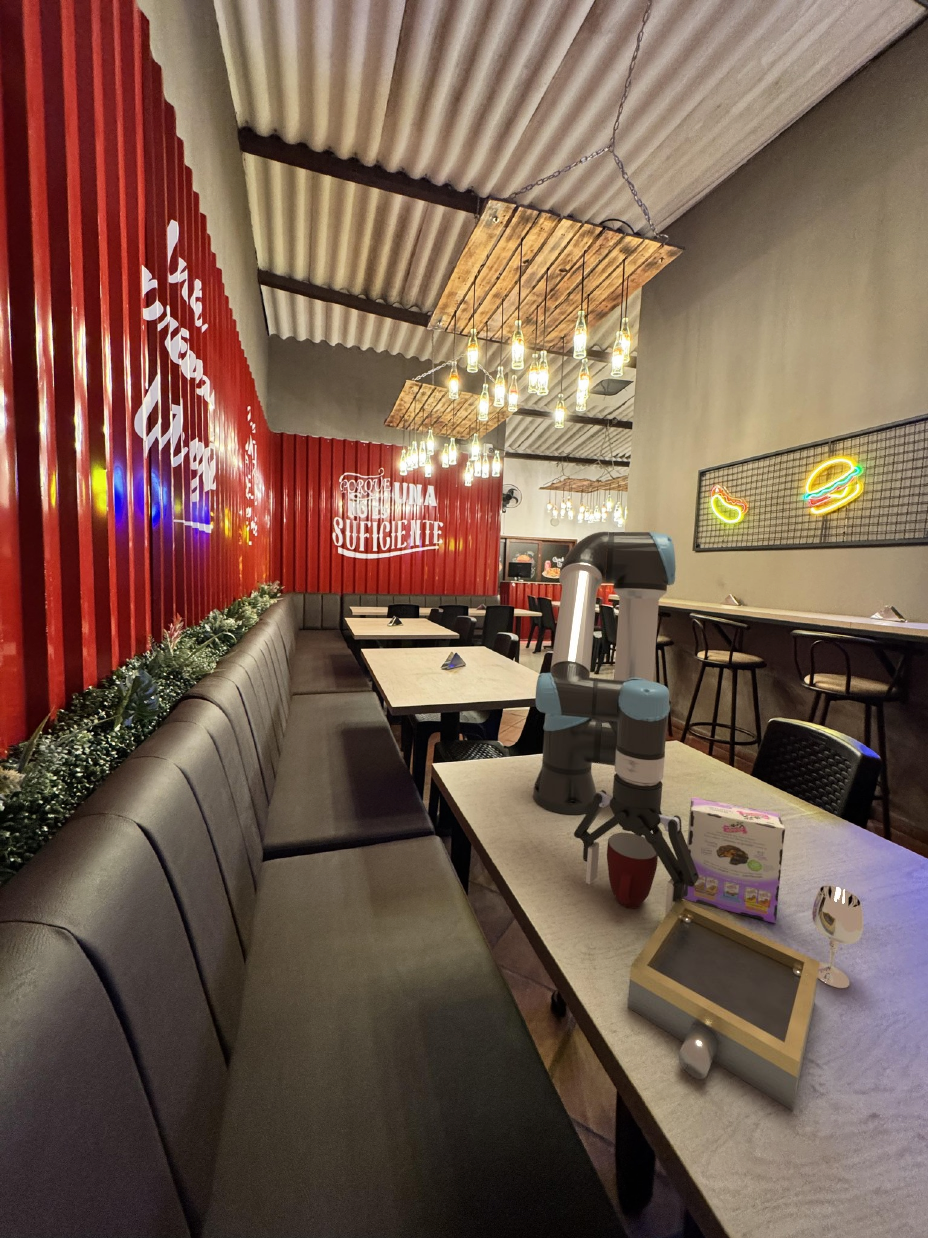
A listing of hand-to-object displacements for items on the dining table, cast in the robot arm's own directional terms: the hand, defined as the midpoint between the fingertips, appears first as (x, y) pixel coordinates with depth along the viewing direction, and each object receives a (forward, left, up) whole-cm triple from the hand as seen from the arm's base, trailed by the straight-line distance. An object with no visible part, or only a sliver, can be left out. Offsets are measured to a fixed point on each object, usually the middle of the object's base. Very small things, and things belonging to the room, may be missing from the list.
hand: (628, 898), depth 83 cm
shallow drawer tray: (+17, -12, -1) cm, 21 cm away
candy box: (+12, +13, -2) cm, 18 cm away
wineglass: (+27, +6, -2) cm, 28 cm away
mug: (0, 0, -2) cm, 2 cm away
